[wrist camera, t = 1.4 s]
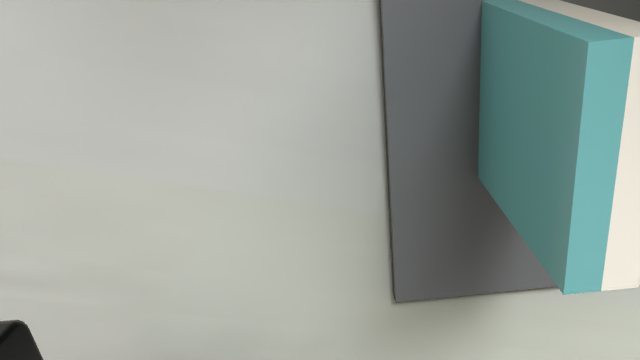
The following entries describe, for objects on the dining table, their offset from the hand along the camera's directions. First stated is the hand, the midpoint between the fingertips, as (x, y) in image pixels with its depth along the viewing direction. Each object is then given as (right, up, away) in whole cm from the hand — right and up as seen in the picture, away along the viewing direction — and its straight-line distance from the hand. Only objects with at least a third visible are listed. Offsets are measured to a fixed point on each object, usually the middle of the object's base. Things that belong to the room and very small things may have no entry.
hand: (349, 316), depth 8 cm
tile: (+6, +5, +11) cm, 13 cm away
